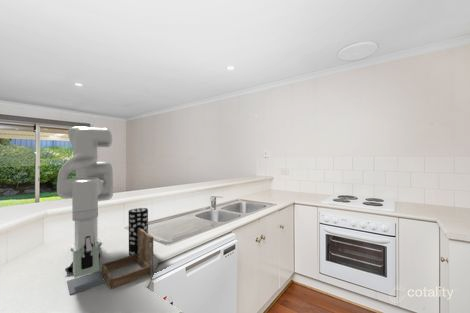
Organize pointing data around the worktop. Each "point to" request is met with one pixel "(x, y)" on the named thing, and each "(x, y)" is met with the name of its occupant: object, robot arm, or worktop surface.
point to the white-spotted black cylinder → (136, 227)
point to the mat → (85, 282)
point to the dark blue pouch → (70, 268)
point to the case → (142, 258)
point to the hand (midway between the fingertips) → (85, 264)
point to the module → (77, 261)
